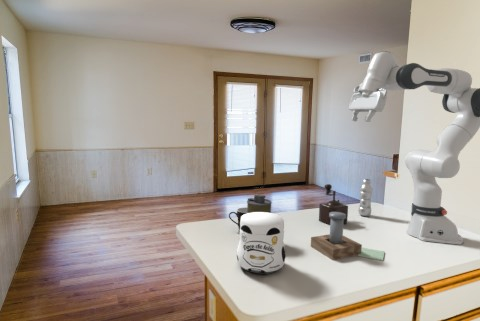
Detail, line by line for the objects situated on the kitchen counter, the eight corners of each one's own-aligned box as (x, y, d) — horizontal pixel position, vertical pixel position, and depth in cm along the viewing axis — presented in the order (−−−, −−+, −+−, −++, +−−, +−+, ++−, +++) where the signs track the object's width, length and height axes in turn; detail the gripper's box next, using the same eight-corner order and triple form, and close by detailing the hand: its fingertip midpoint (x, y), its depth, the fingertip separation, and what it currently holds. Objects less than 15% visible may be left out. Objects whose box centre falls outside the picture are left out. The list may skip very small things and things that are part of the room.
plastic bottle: (372, 217, 183) (374, 181, 180) (358, 216, 184) (361, 180, 181) (370, 214, 189) (372, 179, 186) (357, 213, 190) (359, 178, 187)
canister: (275, 240, 148) (276, 195, 145) (259, 246, 140) (261, 199, 137) (256, 233, 155) (257, 191, 152) (240, 239, 147) (241, 194, 144)
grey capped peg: (344, 249, 139) (347, 213, 137) (341, 254, 134) (344, 217, 132) (328, 246, 142) (331, 210, 140) (325, 251, 136) (327, 214, 134)
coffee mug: (258, 230, 160) (258, 209, 158) (248, 235, 153) (249, 213, 151) (237, 225, 166) (237, 205, 165) (227, 230, 159) (227, 209, 157)
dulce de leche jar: (249, 281, 111) (250, 228, 108) (229, 260, 127) (230, 213, 124) (294, 272, 118) (296, 222, 115) (270, 253, 133) (271, 209, 131)
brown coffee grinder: (348, 223, 172) (351, 188, 170) (333, 226, 167) (335, 191, 164) (326, 215, 186) (328, 183, 183) (311, 218, 180) (313, 184, 177)
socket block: (337, 241, 147) (338, 233, 147) (361, 254, 134) (361, 244, 134) (310, 246, 141) (311, 237, 141) (332, 259, 129) (333, 249, 128)
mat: (384, 252, 137) (384, 251, 137) (382, 260, 129) (382, 259, 129) (360, 248, 141) (360, 247, 141) (357, 256, 133) (358, 255, 133)
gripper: (394, 90, 132) (382, 124, 133) (363, 93, 152) (353, 123, 153) (381, 84, 130) (369, 119, 131) (352, 88, 150) (341, 118, 151)
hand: (360, 121), depth 142 cm, fingers open, 8 cm apart
